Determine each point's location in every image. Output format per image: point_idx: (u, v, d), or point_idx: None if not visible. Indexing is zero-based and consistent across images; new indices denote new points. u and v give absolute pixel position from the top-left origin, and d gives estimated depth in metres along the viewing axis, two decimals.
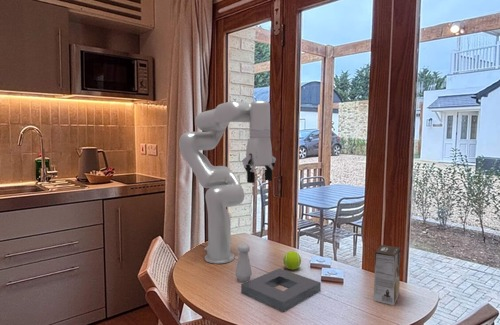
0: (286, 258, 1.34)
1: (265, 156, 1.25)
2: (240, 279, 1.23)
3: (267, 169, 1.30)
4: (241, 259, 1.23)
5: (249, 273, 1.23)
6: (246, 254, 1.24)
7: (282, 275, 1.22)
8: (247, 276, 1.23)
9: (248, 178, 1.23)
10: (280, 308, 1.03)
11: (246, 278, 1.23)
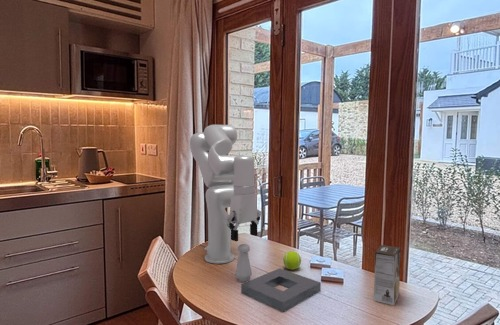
0: (286, 258, 1.34)
1: (249, 212, 1.22)
2: (240, 279, 1.23)
3: (252, 224, 1.27)
4: (241, 259, 1.23)
5: (249, 273, 1.23)
6: (246, 254, 1.24)
7: (282, 275, 1.22)
8: (247, 276, 1.23)
9: (231, 236, 1.20)
10: (280, 308, 1.03)
11: (246, 278, 1.23)
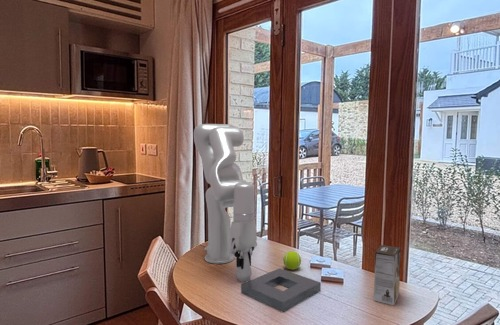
0: (286, 258, 1.34)
1: (249, 239, 1.23)
2: (240, 279, 1.23)
3: None
4: None
5: (249, 273, 1.23)
6: (246, 254, 1.24)
7: (282, 275, 1.22)
8: (247, 276, 1.23)
9: (237, 264, 1.23)
10: (280, 308, 1.03)
11: (246, 278, 1.23)
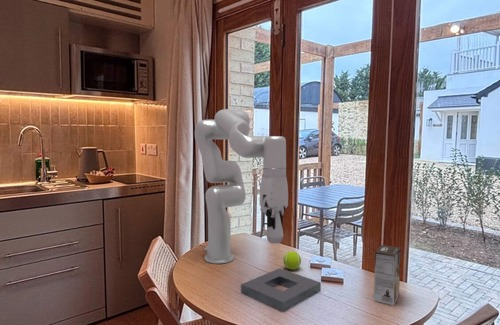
0: (286, 258, 1.34)
1: (281, 197, 1.14)
2: (271, 240, 1.14)
3: None
4: None
5: (281, 234, 1.14)
6: (278, 213, 1.14)
7: (282, 275, 1.22)
8: (279, 237, 1.13)
9: (268, 224, 1.14)
10: (280, 308, 1.03)
11: (278, 239, 1.13)
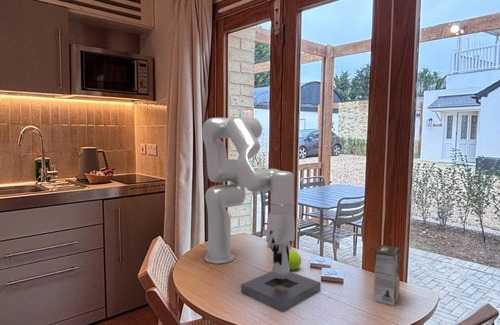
0: None
1: (288, 232, 1.13)
2: (278, 276, 1.13)
3: None
4: None
5: (288, 269, 1.13)
6: (284, 249, 1.13)
7: None
8: (286, 272, 1.13)
9: (275, 260, 1.13)
10: (280, 308, 1.03)
11: (285, 275, 1.13)
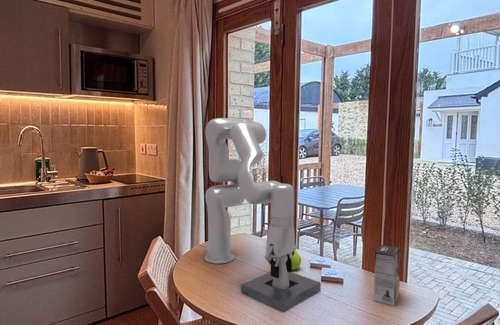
0: None
1: (288, 245, 1.13)
2: None
3: None
4: (279, 269, 1.13)
5: (287, 285, 1.14)
6: (284, 264, 1.14)
7: None
8: (285, 288, 1.13)
9: (272, 272, 1.12)
10: (280, 308, 1.03)
11: None
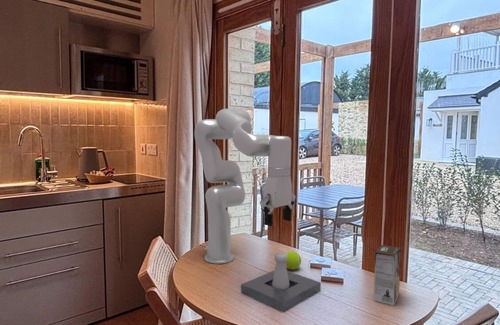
0: None
1: (284, 196, 1.15)
2: None
3: (286, 208, 1.20)
4: (279, 269, 1.13)
5: (287, 285, 1.14)
6: (284, 264, 1.14)
7: None
8: (285, 288, 1.13)
9: (265, 220, 1.13)
10: (280, 308, 1.03)
11: None
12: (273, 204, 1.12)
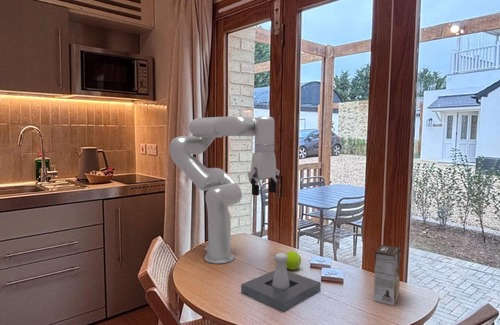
0: None
1: (269, 169, 1.30)
2: None
3: (271, 181, 1.36)
4: (279, 269, 1.13)
5: (287, 285, 1.14)
6: (284, 264, 1.14)
7: None
8: (285, 288, 1.13)
9: (253, 191, 1.28)
10: (280, 308, 1.03)
11: None
12: (259, 176, 1.27)
